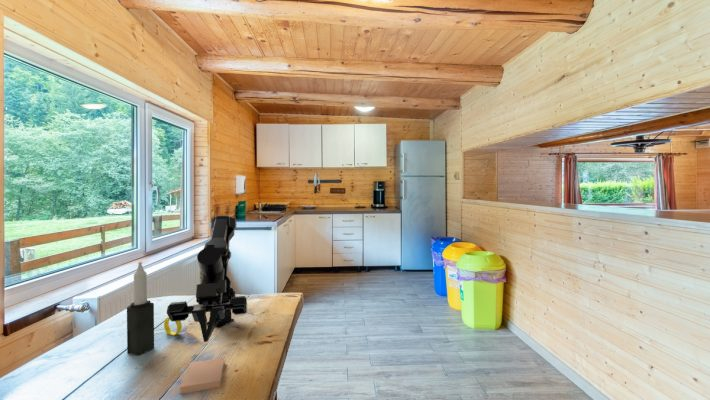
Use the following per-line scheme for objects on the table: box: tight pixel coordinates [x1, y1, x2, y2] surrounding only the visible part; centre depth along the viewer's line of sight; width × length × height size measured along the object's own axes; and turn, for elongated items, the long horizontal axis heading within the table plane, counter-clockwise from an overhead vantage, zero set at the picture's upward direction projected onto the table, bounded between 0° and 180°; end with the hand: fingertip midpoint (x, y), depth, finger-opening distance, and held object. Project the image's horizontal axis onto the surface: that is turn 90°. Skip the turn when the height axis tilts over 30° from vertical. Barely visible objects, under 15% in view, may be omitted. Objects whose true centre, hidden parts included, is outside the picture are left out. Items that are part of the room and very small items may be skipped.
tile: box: [179, 357, 226, 395], centre depth 72 cm, size 2×8×10 cm
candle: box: [126, 261, 155, 356], centre depth 83 cm, size 5×5×25 cm
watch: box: [163, 316, 183, 337], centre depth 93 cm, size 6×3×6 cm, turn 70°
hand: (205, 341), depth 74 cm, fingers closed
